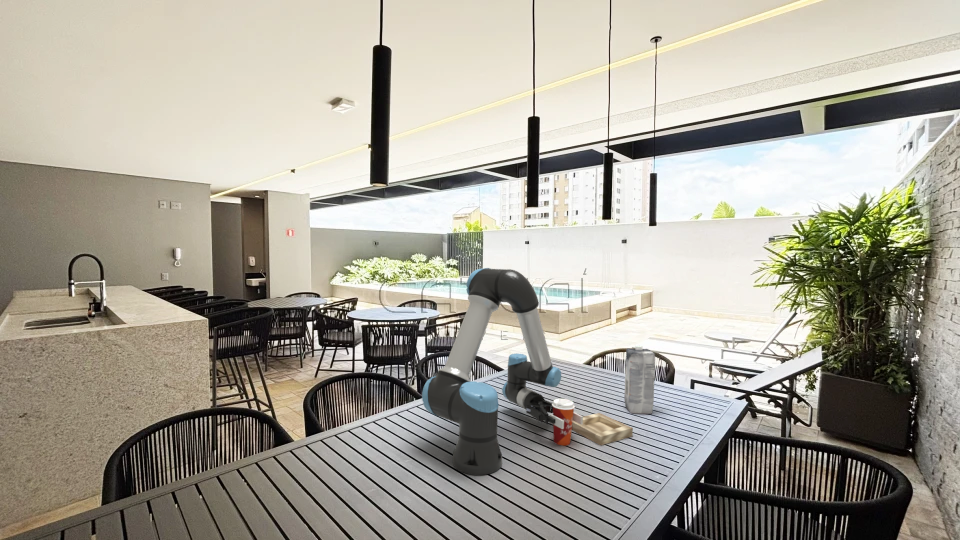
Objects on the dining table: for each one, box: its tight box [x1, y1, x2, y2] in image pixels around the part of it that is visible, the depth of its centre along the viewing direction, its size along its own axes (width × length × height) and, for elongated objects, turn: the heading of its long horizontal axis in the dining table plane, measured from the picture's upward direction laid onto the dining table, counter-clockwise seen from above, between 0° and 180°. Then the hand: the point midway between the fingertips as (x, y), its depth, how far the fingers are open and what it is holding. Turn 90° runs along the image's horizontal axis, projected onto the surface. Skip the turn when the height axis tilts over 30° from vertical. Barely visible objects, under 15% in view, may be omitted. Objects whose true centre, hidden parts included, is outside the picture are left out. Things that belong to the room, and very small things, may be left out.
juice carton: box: [623, 345, 656, 415], centre depth 172 cm, size 9×10×27 cm
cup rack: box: [572, 412, 634, 446], centre depth 150 cm, size 16×16×3 cm
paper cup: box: [551, 398, 576, 447], centre depth 141 cm, size 8×8×14 cm
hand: (572, 422), depth 137 cm, fingers closed on paper cup, 8 cm apart
